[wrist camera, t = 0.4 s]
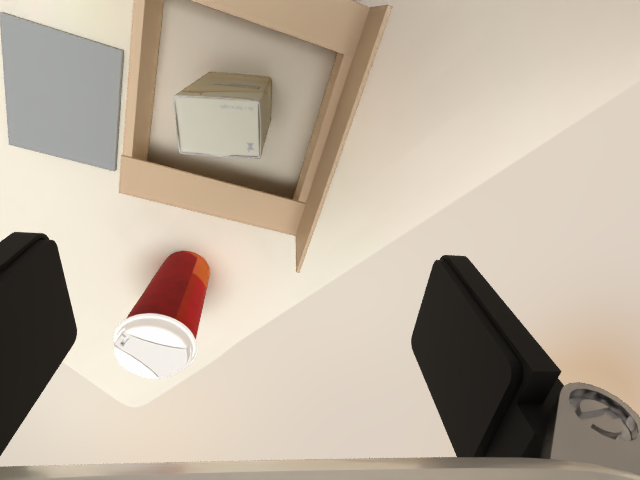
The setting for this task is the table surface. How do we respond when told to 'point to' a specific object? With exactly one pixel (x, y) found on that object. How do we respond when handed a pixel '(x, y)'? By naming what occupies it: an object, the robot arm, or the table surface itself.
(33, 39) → the mat
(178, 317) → the paper cup
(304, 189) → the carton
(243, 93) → the skincare box
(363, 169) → the table surface
